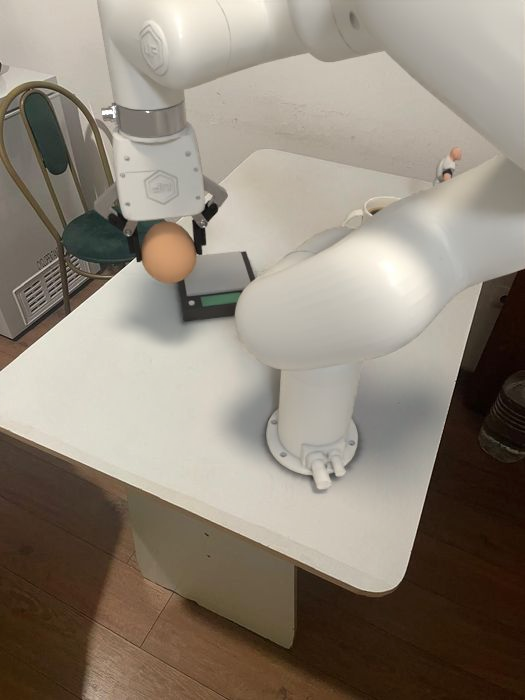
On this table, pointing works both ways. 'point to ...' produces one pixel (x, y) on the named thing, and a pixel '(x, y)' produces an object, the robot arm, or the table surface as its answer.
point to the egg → (168, 252)
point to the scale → (215, 285)
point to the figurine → (446, 166)
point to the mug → (370, 208)
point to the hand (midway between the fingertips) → (168, 252)
